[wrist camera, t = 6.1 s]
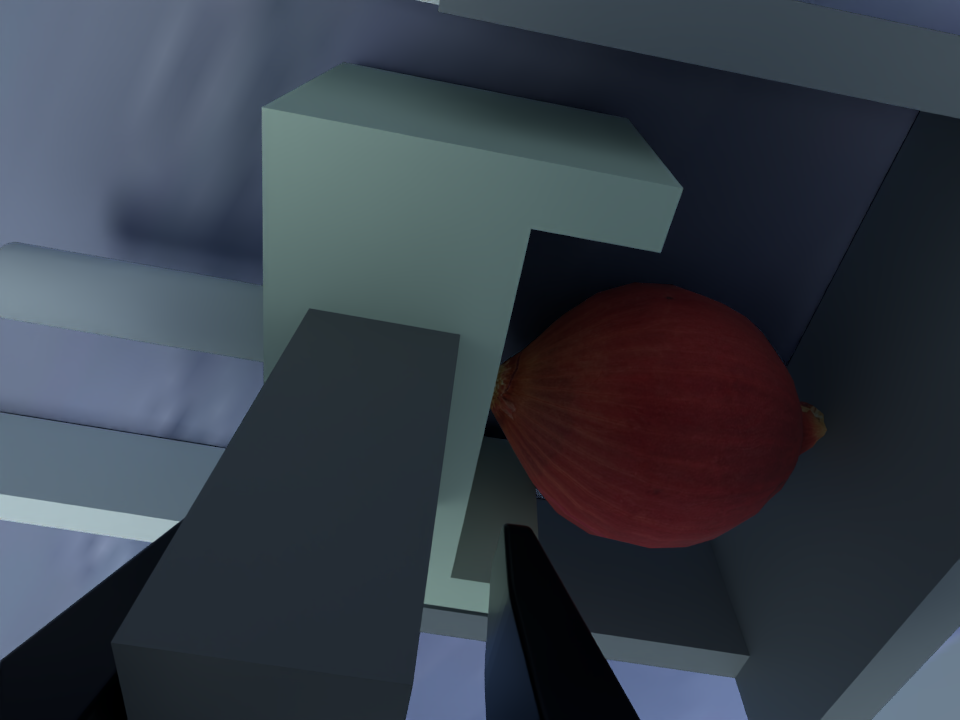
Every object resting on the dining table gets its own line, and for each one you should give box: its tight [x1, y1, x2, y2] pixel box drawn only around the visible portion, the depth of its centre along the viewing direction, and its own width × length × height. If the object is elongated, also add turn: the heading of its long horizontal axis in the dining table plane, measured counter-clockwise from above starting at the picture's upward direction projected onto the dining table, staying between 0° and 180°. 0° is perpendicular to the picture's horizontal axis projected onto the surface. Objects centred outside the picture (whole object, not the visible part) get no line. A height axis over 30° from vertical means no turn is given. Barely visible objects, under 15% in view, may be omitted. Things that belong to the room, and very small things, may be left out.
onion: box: [490, 282, 827, 548], centre depth 14 cm, size 6×6×8 cm
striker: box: [0, 62, 683, 720], centre depth 11 cm, size 10×12×11 cm
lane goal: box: [0, 0, 960, 720], centre depth 13 cm, size 15×34×7 cm, turn 80°
